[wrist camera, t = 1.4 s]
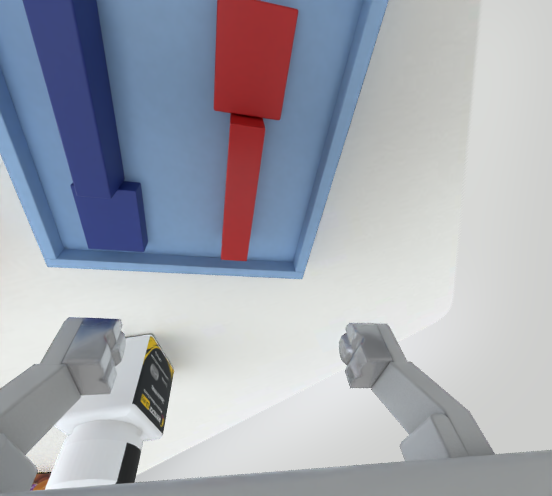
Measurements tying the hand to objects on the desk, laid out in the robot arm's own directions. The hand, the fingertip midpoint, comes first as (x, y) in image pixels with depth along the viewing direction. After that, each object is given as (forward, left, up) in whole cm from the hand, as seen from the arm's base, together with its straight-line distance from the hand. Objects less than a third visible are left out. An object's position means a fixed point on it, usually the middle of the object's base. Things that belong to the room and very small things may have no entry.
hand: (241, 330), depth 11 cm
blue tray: (-3, -3, -12) cm, 13 cm away
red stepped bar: (-2, 0, -11) cm, 11 cm away
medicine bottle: (+21, -9, -12) cm, 26 cm away
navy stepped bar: (-3, -8, -11) cm, 14 cm away
